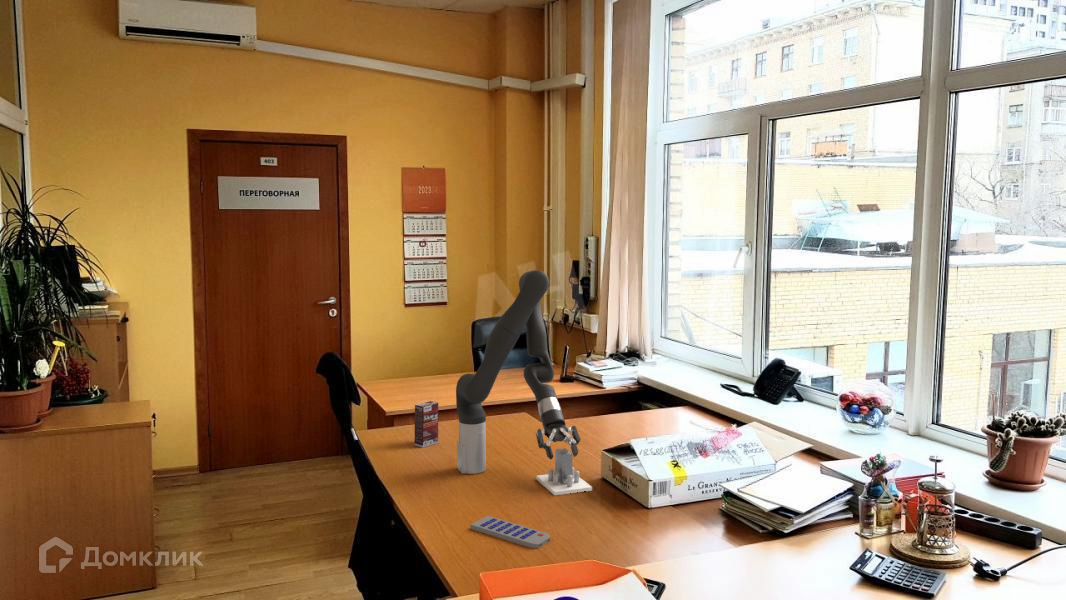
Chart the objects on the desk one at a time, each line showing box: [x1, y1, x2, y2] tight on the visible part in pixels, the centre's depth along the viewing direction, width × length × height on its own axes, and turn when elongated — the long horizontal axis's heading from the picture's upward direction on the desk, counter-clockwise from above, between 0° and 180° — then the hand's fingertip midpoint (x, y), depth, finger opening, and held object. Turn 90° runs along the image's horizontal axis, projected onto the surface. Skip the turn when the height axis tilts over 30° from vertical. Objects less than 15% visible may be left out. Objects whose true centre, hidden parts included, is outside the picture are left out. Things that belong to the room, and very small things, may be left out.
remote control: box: [469, 515, 551, 549], centre depth 215 cm, size 8×23×2 cm, turn 55°
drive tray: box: [535, 466, 593, 496], centre depth 254 cm, size 13×16×5 cm
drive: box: [554, 447, 573, 485], centre depth 254 cm, size 4×6×10 cm, turn 21°
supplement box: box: [414, 400, 439, 448], centre depth 296 cm, size 9×5×16 cm, turn 143°
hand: (563, 456), depth 253 cm, fingers open, 8 cm apart
